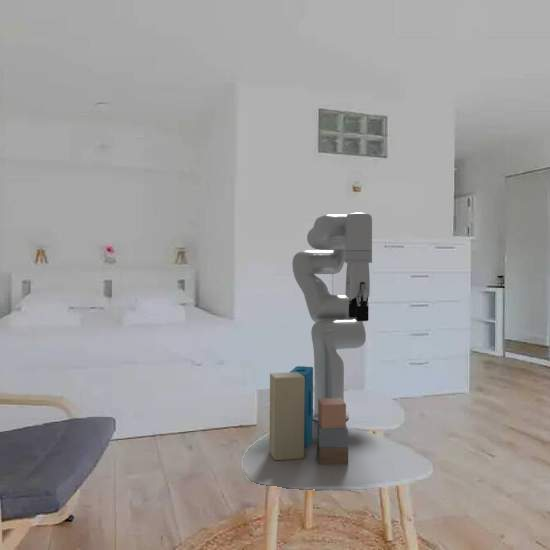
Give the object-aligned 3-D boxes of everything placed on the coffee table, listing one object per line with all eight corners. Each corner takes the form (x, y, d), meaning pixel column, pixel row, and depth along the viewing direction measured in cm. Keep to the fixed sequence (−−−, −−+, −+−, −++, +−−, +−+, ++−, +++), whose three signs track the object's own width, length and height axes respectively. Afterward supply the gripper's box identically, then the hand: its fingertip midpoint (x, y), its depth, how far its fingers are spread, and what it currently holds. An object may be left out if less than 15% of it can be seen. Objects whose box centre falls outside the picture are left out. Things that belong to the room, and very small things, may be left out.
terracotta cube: (318, 421, 139) (318, 398, 139) (341, 421, 140) (341, 398, 140) (322, 428, 133) (322, 404, 133) (345, 428, 134) (345, 404, 134)
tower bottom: (316, 455, 140) (316, 438, 140) (343, 455, 140) (343, 437, 140) (320, 465, 133) (320, 447, 133) (348, 465, 133) (348, 447, 133)
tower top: (317, 437, 140) (317, 420, 140) (344, 438, 140) (344, 420, 140) (319, 447, 133) (319, 429, 133) (347, 447, 133) (347, 429, 133)
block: (305, 449, 144) (305, 375, 144) (287, 448, 145) (287, 374, 145) (313, 435, 156) (313, 366, 155) (296, 434, 157) (296, 366, 156)
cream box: (297, 448, 145) (297, 371, 144) (305, 458, 137) (305, 376, 137) (268, 451, 143) (268, 372, 142) (274, 461, 136) (274, 378, 135)
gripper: (339, 258, 158) (338, 316, 158) (351, 257, 141) (351, 322, 141) (364, 258, 158) (364, 316, 159) (379, 257, 141) (379, 322, 142)
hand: (358, 319), depth 150 cm, fingers open, 9 cm apart
